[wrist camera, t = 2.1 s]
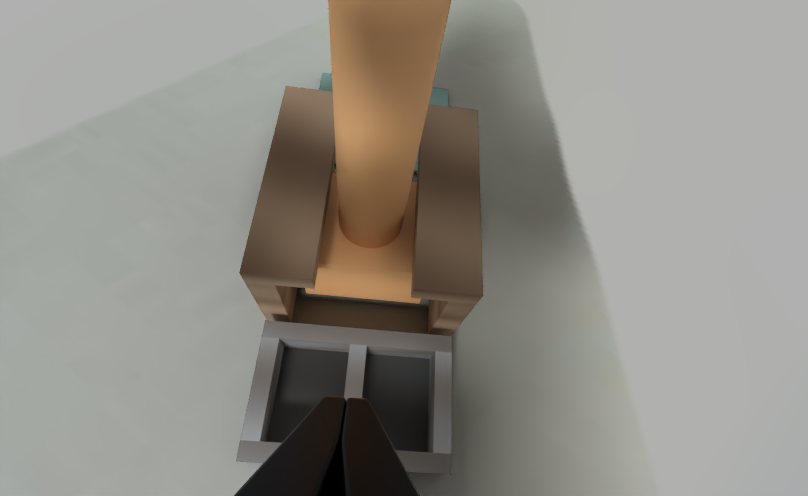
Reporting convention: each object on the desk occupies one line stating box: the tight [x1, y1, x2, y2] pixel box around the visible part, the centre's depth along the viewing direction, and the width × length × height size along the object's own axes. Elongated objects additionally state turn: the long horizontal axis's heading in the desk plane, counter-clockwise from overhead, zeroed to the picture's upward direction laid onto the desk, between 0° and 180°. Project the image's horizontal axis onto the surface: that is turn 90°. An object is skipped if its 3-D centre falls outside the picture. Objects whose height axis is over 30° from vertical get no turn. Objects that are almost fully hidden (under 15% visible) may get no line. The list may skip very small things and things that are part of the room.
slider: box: [305, 0, 451, 303], centre depth 17 cm, size 5×6×15 cm
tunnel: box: [236, 73, 483, 475], centre depth 22 cm, size 24×10×6 cm, turn 177°
